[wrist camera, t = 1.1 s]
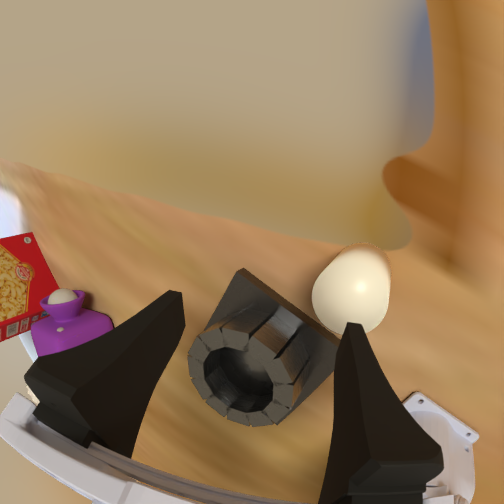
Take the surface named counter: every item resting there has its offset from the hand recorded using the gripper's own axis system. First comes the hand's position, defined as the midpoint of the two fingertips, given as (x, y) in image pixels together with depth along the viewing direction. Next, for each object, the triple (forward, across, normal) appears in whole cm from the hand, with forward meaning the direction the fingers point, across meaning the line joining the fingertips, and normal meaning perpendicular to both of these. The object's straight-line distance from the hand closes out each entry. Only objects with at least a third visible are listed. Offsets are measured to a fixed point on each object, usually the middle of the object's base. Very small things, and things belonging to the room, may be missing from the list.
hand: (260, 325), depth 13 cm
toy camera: (+13, +24, +21) cm, 34 cm away
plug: (+10, -6, +3) cm, 12 cm away
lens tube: (+9, 0, +12) cm, 15 cm away
